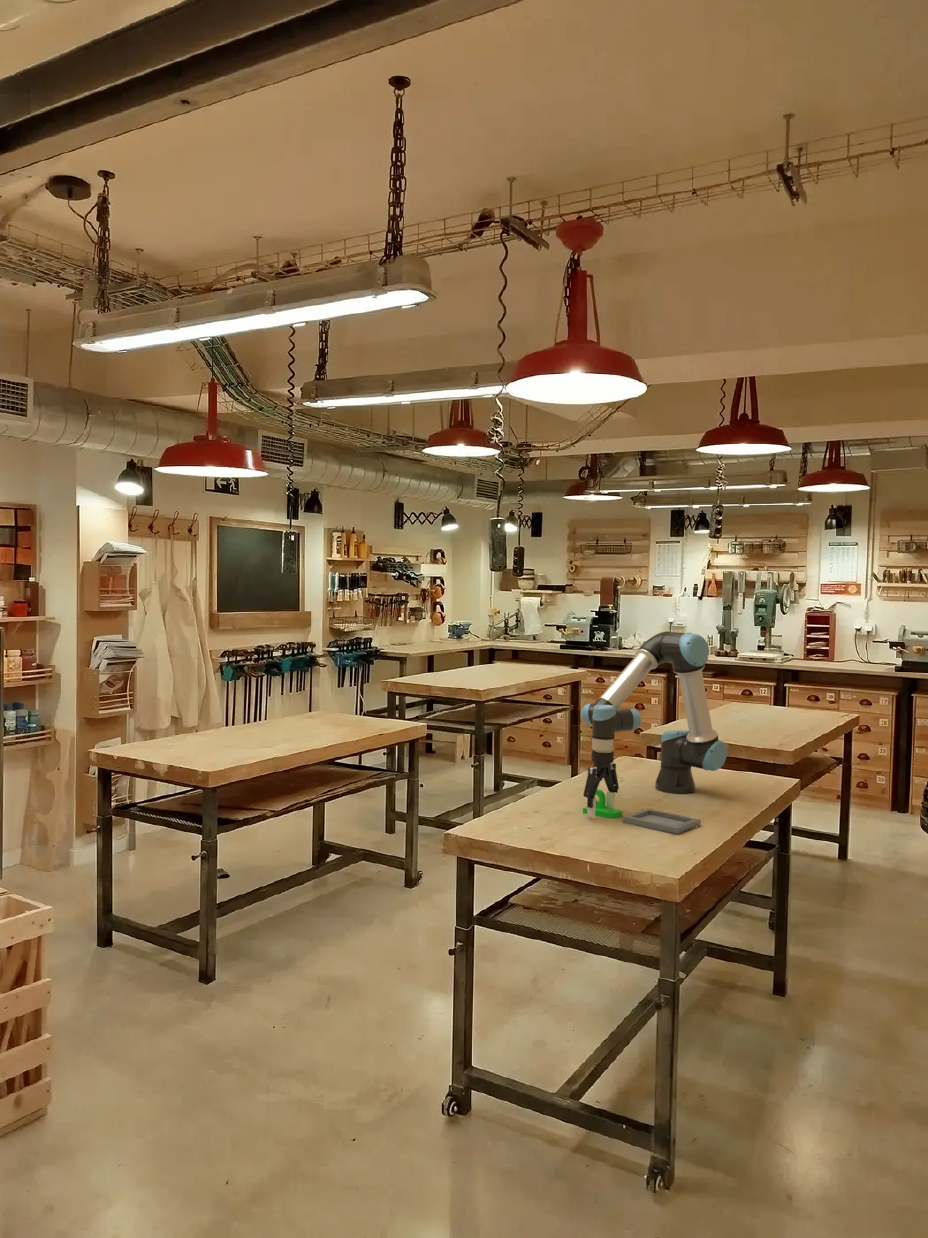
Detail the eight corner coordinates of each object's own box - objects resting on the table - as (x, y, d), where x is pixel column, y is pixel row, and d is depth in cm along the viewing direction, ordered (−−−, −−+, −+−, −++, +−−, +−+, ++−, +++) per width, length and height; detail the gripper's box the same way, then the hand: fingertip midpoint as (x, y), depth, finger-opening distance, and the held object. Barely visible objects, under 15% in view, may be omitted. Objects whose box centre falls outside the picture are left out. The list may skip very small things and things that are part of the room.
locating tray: (647, 814, 304) (647, 808, 304) (700, 825, 291) (700, 819, 291) (622, 822, 292) (622, 816, 292) (676, 835, 279) (677, 828, 279)
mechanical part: (582, 814, 303) (583, 791, 303) (590, 810, 308) (591, 788, 308) (614, 820, 296) (615, 796, 296) (622, 816, 301) (622, 793, 301)
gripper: (612, 744, 311) (609, 806, 312) (574, 753, 293) (571, 817, 294) (630, 748, 306) (628, 810, 307) (592, 756, 288) (590, 822, 289)
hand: (600, 814), depth 301 cm, fingers open, 11 cm apart
